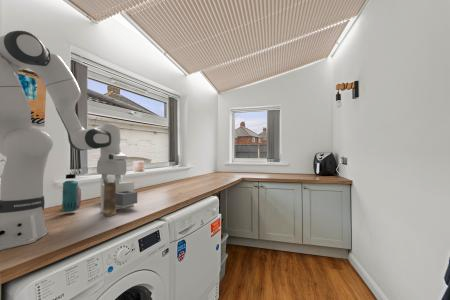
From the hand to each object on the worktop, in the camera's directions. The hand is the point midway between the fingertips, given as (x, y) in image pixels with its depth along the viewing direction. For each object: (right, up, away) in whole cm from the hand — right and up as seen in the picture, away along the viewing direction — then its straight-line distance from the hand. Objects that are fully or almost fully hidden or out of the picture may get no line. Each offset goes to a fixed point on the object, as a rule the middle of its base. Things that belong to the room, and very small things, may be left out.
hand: (111, 183), depth 106 cm
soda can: (-28, -16, +13) cm, 35 cm away
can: (-15, -17, +30) cm, 37 cm away
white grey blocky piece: (+2, -16, +10) cm, 19 cm away
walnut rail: (0, -15, -1) cm, 15 cm away
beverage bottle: (-22, -16, +2) cm, 27 cm away
